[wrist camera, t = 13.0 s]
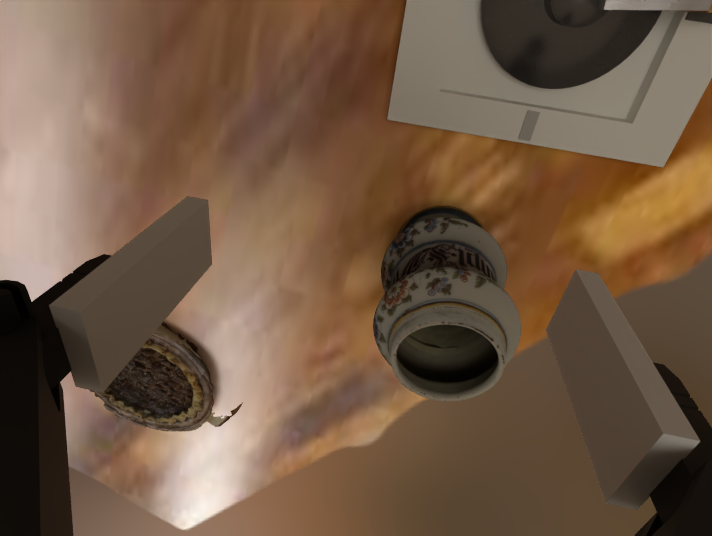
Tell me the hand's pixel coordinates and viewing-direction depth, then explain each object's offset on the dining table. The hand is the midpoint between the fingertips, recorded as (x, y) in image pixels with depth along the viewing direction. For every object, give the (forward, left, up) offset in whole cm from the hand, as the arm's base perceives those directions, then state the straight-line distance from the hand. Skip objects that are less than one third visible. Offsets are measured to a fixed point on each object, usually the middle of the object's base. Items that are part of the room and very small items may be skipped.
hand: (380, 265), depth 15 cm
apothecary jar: (+14, +6, -29) cm, 33 cm away
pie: (+43, -30, -29) cm, 60 cm away
